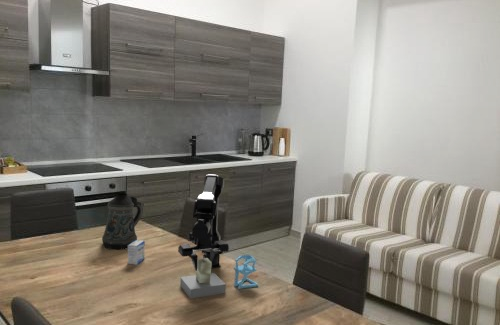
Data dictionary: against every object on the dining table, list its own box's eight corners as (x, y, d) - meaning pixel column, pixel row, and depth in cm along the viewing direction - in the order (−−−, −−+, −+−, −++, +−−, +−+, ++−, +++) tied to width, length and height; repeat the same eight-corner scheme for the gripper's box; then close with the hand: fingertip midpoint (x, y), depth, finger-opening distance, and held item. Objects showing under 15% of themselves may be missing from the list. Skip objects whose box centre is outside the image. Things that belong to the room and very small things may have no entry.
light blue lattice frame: (230, 284, 176) (231, 255, 175) (246, 279, 182) (247, 251, 180) (242, 291, 170) (243, 261, 169) (258, 286, 176) (259, 257, 174)
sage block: (205, 277, 173) (207, 258, 172) (209, 282, 169) (211, 262, 168) (195, 278, 171) (197, 258, 170) (199, 283, 167) (201, 262, 166)
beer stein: (94, 247, 211) (94, 196, 207) (118, 235, 229) (118, 188, 226) (125, 252, 206) (125, 200, 203) (146, 240, 225) (147, 192, 221)
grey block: (213, 281, 179) (213, 272, 178) (225, 294, 168) (225, 284, 168) (180, 287, 173) (180, 277, 172) (190, 299, 162) (190, 289, 162)
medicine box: (136, 265, 191) (137, 246, 190) (127, 263, 192) (127, 244, 191) (144, 258, 199) (145, 240, 198) (135, 257, 200) (135, 239, 199)
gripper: (219, 222, 178) (218, 259, 181) (174, 226, 170) (173, 264, 172) (230, 230, 168) (228, 269, 171) (183, 234, 160) (182, 275, 163)
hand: (203, 269), depth 169 cm, fingers open, 6 cm apart
